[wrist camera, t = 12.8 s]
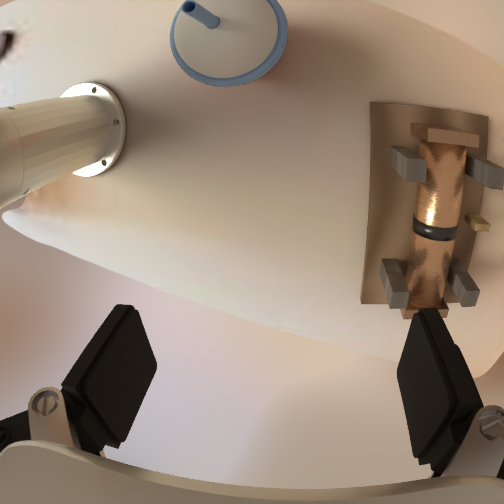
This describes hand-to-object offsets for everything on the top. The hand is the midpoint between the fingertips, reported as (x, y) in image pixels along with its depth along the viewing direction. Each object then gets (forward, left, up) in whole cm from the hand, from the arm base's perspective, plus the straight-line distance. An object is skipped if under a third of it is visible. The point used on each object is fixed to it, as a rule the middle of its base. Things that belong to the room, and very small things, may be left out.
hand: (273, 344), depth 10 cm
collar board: (+14, -5, -27) cm, 31 cm away
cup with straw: (-5, +13, -27) cm, 30 cm away
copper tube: (+14, -5, -25) cm, 30 cm away
